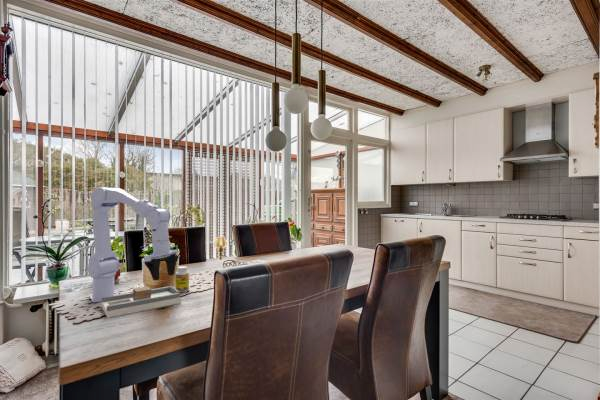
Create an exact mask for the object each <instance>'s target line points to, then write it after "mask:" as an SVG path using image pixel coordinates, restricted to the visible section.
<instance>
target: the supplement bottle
mask: <svg viewBox="0 0 600 400" xmlns="http://www.w3.org/2000/svg"><path fill="white" fill-rule="evenodd" d="M177 271H178V272H177ZM177 271H175V274H176V278H175V279H174V280H175V281H174V283H175V284H174V286H175V287H174V288H175V289H176V290H178V291H179V293H184V292H187V291H189V289H190V288H189V287H190V272H189V271H188V267H187V266H185V265H184V266H182V265H181V266H178V267H177Z"/></svg>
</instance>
